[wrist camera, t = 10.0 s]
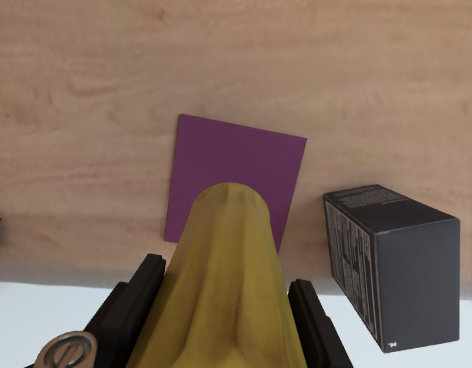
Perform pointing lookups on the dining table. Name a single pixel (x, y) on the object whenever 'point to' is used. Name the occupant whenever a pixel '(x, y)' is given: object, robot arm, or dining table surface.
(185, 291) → the vase
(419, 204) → the small box
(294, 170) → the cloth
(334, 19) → the dining table surface
